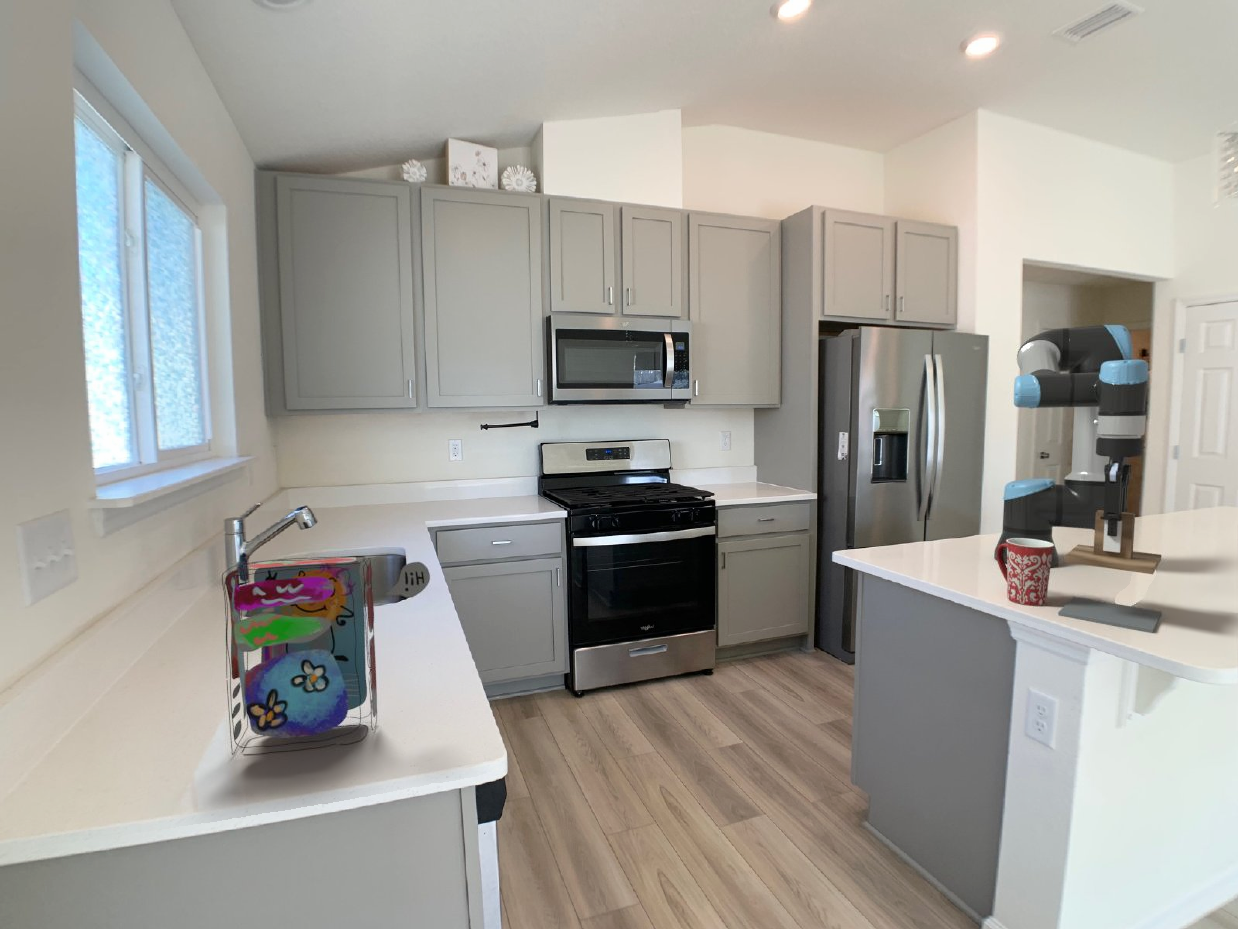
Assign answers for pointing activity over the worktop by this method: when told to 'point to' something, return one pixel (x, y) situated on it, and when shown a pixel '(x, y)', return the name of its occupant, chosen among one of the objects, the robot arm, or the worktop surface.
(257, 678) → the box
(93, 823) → the worktop surface
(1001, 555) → the mug
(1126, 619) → the mat
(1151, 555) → the wooden base stand
